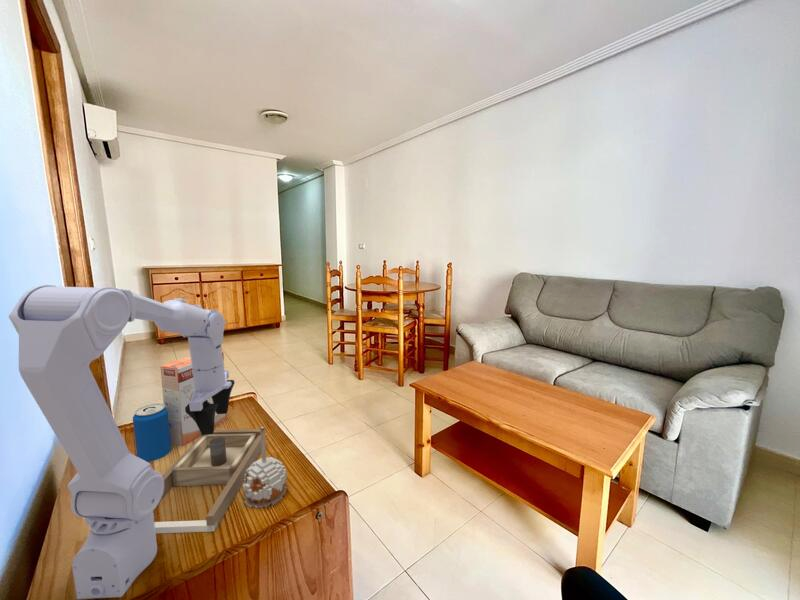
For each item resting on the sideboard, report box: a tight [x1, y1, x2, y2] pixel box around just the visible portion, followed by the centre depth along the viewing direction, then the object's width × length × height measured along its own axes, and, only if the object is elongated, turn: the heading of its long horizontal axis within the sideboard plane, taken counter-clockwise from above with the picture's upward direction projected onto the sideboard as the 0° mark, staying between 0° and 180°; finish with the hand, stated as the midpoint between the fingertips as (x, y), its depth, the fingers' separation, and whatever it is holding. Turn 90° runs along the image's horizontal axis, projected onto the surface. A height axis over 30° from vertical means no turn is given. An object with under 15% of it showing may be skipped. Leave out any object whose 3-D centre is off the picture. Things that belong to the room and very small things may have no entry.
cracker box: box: [160, 351, 228, 447], centre depth 87 cm, size 14×6×21 cm, turn 164°
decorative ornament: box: [242, 426, 288, 509], centre depth 65 cm, size 8×8×15 cm
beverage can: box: [132, 403, 172, 463], centre depth 77 cm, size 6×6×12 cm
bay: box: [154, 428, 262, 535], centre depth 69 cm, size 26×15×5 cm, turn 4°
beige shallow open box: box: [172, 433, 257, 487], centre depth 74 cm, size 13×12×6 cm
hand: (215, 422), depth 73 cm, fingers open, 7 cm apart
